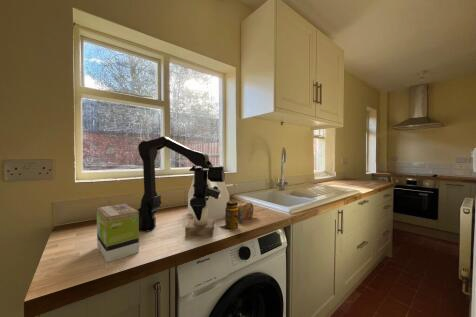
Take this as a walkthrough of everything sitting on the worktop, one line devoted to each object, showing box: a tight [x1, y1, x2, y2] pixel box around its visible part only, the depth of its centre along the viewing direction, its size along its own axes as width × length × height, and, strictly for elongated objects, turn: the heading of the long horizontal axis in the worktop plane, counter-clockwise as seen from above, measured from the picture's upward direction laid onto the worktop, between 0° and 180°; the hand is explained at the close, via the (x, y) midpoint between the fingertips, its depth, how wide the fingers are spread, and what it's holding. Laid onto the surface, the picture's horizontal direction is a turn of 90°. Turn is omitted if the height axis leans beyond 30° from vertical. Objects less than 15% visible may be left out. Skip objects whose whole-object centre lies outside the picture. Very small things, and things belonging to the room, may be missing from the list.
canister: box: [193, 205, 208, 225], centre depth 90 cm, size 6×6×8 cm
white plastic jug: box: [187, 173, 230, 220], centre depth 117 cm, size 19×15×25 cm
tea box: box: [96, 203, 140, 263], centre depth 72 cm, size 15×10×15 cm, turn 45°
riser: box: [184, 218, 215, 238], centre depth 90 cm, size 11×11×4 cm
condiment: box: [218, 200, 242, 233], centre depth 95 cm, size 7×8×12 cm
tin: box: [237, 202, 254, 223], centre depth 108 cm, size 15×3×8 cm, turn 148°
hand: (200, 217), depth 90 cm, fingers open, 9 cm apart
